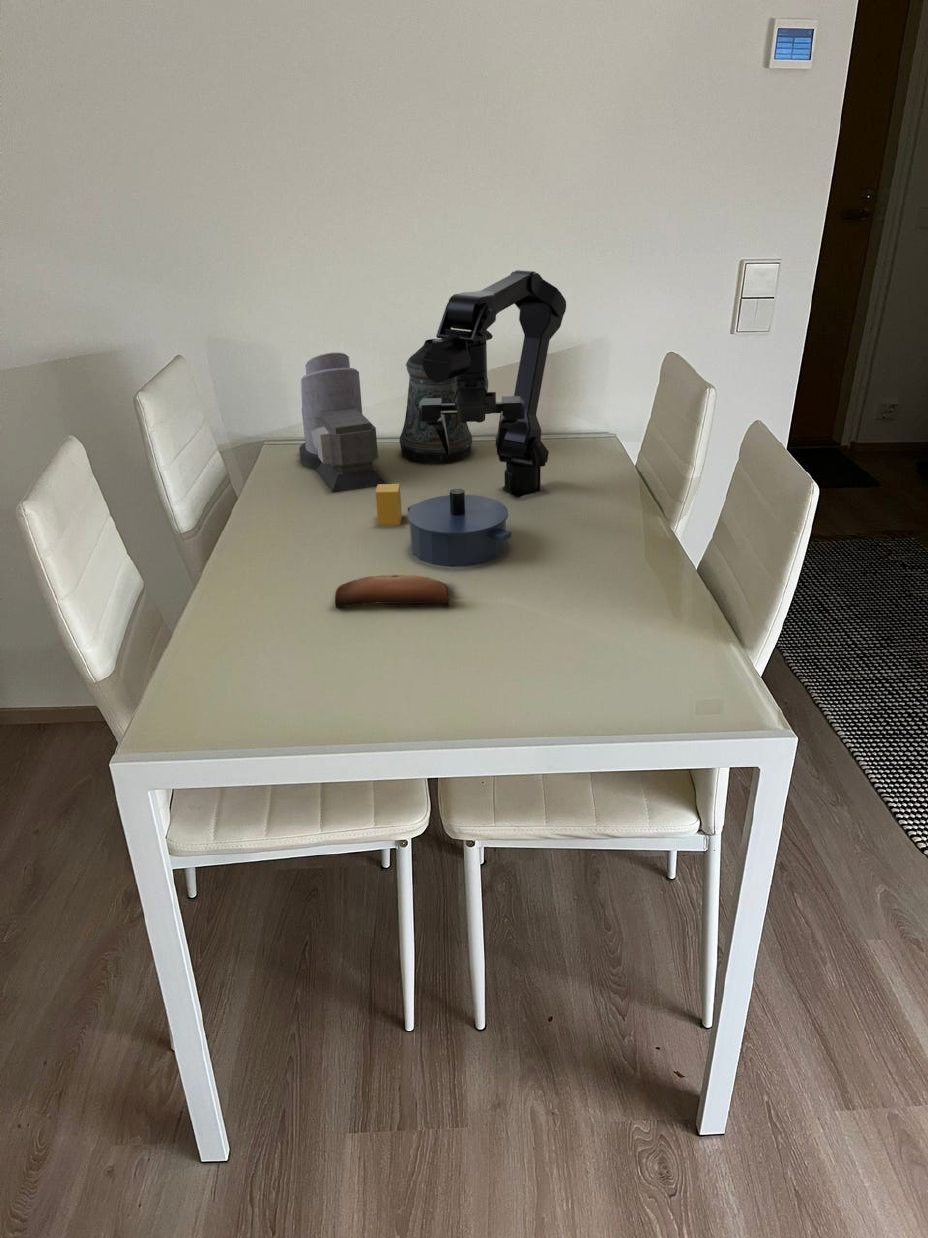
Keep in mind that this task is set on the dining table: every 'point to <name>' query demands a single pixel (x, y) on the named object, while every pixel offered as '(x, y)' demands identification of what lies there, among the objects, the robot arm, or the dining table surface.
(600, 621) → the dining table surface
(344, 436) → the juicer
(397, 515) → the block
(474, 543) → the pot
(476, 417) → the robot arm
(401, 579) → the sunglasses case
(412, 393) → the beer stein
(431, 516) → the lid
